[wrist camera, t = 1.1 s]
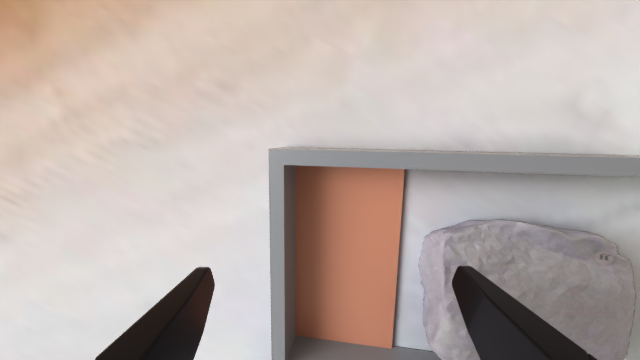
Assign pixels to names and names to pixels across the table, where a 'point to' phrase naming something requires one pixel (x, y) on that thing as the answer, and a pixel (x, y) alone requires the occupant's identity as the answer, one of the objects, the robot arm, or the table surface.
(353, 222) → the open tray box
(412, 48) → the table surface
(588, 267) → the stone block
